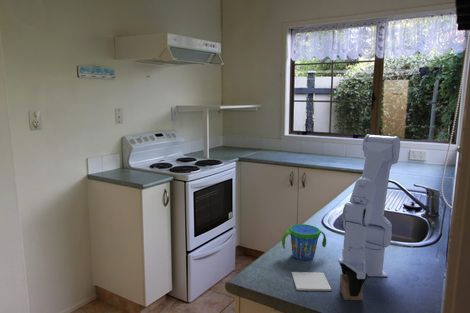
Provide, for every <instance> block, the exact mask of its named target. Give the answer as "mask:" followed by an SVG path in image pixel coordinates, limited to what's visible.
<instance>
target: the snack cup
mask: <svg viewBox="0 0 470 313" xmlns="http://www.w3.org/2000/svg"><path fill="white" fill-rule="evenodd" d="M321 234H322V235H323V236H322V237H323V239H322V243H321V246H322V247H323V248H325V247H326V245H327V236H326V234H325V232H324V231H323V230H321V229H320V228H318V227H317V226H315V225H313V224H305V223H298V224H293V225H291V226H289V229H287V230H286V231H285V232H284V233H283V234H282V238H281V246H282V248H283V249H284V250H285V249H286V247H285V244H286V237H287V236H288V235H290V241H291V242H290V244H291V253H292V257H294V258H295V259H297V260H300V261H308V260H309V261H310V260H313V258H314V257H315V254H316V252H317V251H316V250H317V245H318V241H319V237H320V235H321Z"/></svg>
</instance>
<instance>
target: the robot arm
mask: <svg viewBox="0 0 470 313" xmlns="http://www.w3.org/2000/svg"><path fill="white" fill-rule="evenodd" d="M362 151H363V156H364V157H365V161H364V165H363V170H362V174H361V178H359V179H356V181H355V183H354V187H353V190H352V192H351V195H350V199H349V202H346V203H345V204H344V206H343V208H342V212H341V213H342V214H341V216H342V222H343V224H342V227H343V228H344V235H343V249H342V250H341V251H342V252H341V253H342V254H341V257H339V258H338V259H337V260H338V263H339V266H340V269H341V272H342V273H341V274H346V275H347V277H348V281H349V292H350V296H356V297H358V295H359V293H360V290H361V287H362V285H363V284H364V285H365V282H366V281H367V279H368V278H369V277H379V278H381V277H382V278H383V277H388V274H387V273H386V271H385V270H384V259H385V250H386V248H388V247H389V246H390V245H391V243H392V242H391V241H392V237H393V236H392V235H393V230H392V229H393V228H392V227H393V225H392V222H391V221H390V220H389V219H387V217H386V216H385V210H386V202H387V193H388V187H389V179H390V174H391V173H390V172H391V168H392V166H393V165H395V164H397V163H398V161H399V157H400V152H401V139H400V138H399V136H392V135H391V136H388V135H375V134H370V133H368V134H366V135H365V136H364V138H363V141H362Z"/></svg>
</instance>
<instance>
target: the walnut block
mask: <svg viewBox="0 0 470 313" xmlns="http://www.w3.org/2000/svg"><path fill="white" fill-rule="evenodd" d="M364 286H365V283H364V284H363V285H362V287H361V290H360V293H359V295H358V297H356V296H350V292H349V281H348V277H347V275H346V274H342V273H340V277H339V292H340V294H341V297H342V298H343V300H344V301H363V298H364Z"/></svg>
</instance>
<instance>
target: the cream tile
mask: <svg viewBox="0 0 470 313" xmlns="http://www.w3.org/2000/svg"><path fill="white" fill-rule="evenodd" d="M291 276H292V280H293V284H294V286H295V289H296V291H310V292H314V291H315V292H316V291H318V292H319V291H320V292H323V291H324V292H331V291H332V288H331V286H330V284H329V281H328V279H327V277H326V275H325V273H324V272H311V271H305V272H304V271H291Z"/></svg>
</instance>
